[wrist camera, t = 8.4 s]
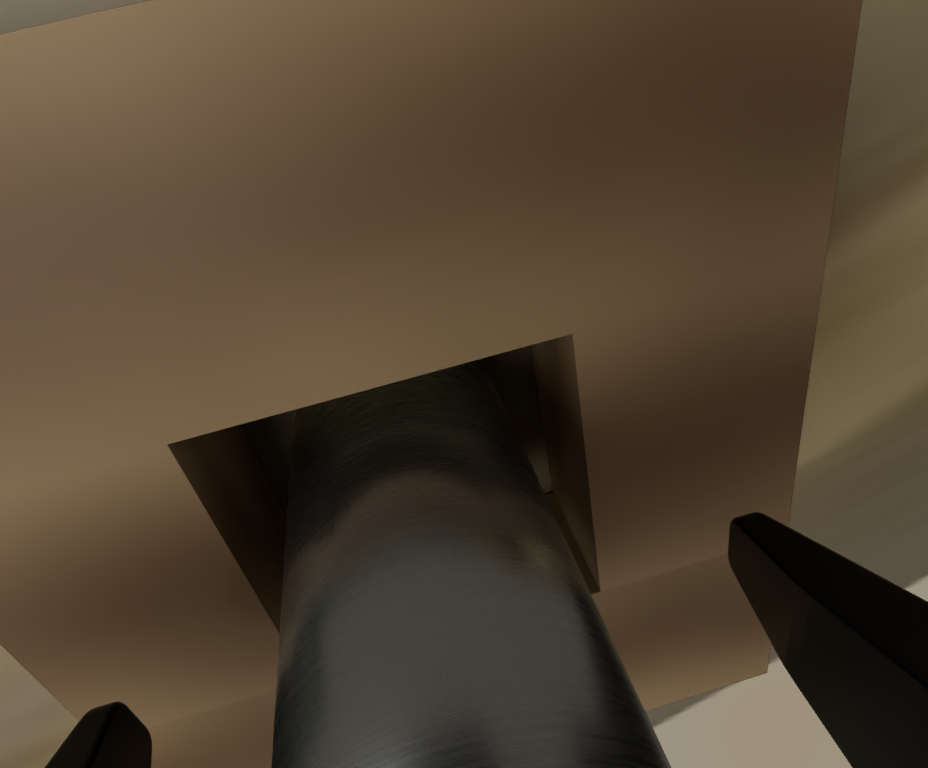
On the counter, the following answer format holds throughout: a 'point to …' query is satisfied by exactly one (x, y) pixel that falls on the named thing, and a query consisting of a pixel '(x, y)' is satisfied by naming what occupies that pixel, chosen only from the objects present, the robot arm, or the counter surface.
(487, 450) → the grey and teal cylinder
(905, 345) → the counter surface
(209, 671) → the dock
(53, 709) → the counter surface
